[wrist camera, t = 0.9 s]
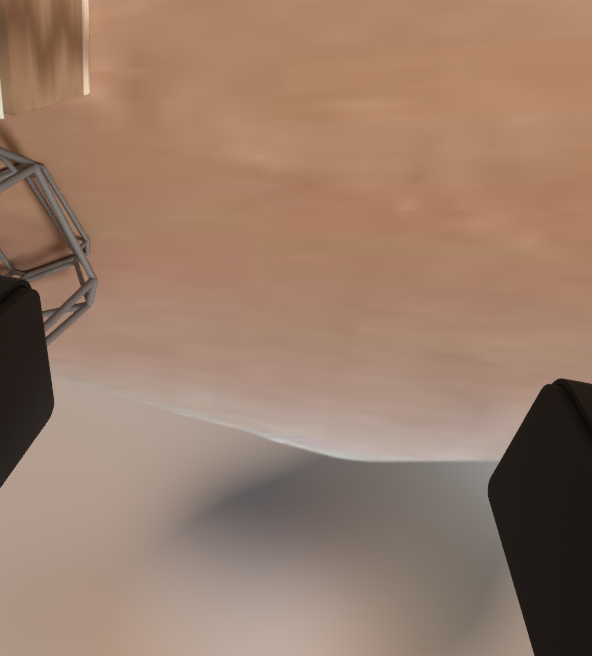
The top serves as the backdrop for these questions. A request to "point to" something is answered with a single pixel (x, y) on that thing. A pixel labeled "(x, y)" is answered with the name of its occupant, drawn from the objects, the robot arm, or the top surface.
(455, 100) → the top surface
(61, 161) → the top surface
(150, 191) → the top surface
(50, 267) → the geometric lantern
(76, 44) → the walnut box
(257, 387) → the top surface
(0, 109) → the lid
